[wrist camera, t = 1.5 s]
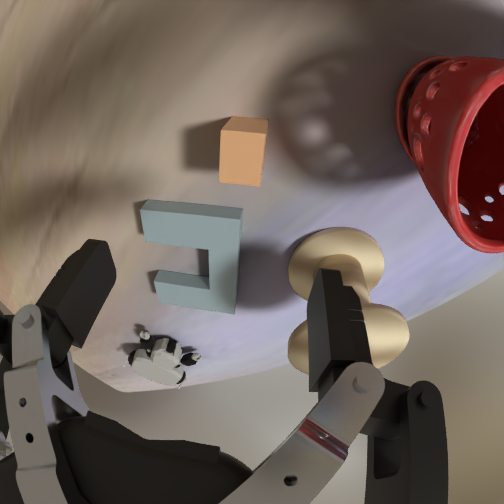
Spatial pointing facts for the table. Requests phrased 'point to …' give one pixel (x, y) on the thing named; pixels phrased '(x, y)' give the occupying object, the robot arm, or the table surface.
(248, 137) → the block
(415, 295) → the table surface
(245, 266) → the table surface
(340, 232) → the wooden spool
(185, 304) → the notched board
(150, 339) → the robot toy
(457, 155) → the plant pot
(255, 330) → the table surface
